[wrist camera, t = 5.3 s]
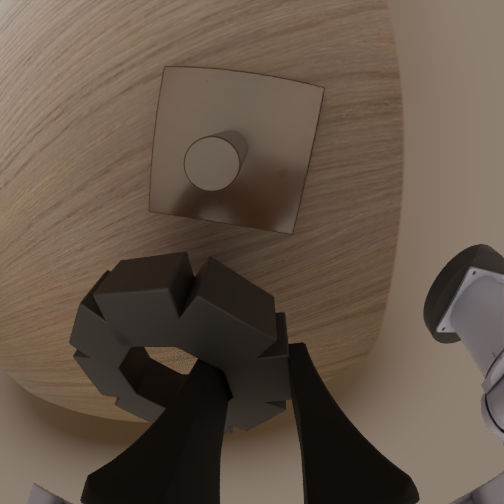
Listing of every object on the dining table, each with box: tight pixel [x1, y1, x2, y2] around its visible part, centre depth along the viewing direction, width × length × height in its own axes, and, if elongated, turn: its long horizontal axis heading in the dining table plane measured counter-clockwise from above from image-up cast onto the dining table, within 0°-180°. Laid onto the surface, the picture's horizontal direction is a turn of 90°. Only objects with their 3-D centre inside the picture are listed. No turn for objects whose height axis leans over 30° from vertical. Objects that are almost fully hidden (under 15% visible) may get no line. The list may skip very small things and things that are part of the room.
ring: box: [69, 252, 292, 434], centre depth 11 cm, size 9×9×2 cm
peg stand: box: [149, 66, 325, 235], centre depth 12 cm, size 9×9×7 cm
